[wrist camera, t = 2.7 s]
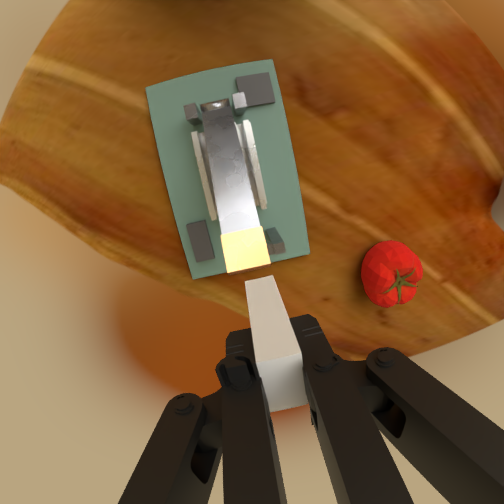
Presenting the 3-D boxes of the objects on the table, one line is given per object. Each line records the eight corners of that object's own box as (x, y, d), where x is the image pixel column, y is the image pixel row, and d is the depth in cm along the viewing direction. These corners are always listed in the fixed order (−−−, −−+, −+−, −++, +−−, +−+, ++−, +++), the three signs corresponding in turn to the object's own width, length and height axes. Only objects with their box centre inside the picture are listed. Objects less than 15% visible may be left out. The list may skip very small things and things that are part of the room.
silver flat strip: (201, 111, 27) (198, 102, 26) (230, 104, 27) (228, 95, 26) (229, 276, 22) (226, 271, 20) (270, 267, 22) (270, 262, 20)
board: (147, 89, 30) (143, 86, 28) (271, 61, 30) (273, 57, 28) (193, 275, 39) (192, 281, 37) (307, 250, 39) (311, 255, 37)
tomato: (377, 224, 38) (404, 240, 31) (411, 254, 40) (438, 272, 33) (341, 276, 41) (361, 300, 33) (378, 301, 43) (400, 325, 36)
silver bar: (187, 114, 31) (178, 105, 24) (248, 100, 31) (253, 89, 25) (219, 248, 36) (217, 267, 30) (276, 236, 36) (285, 252, 30)
